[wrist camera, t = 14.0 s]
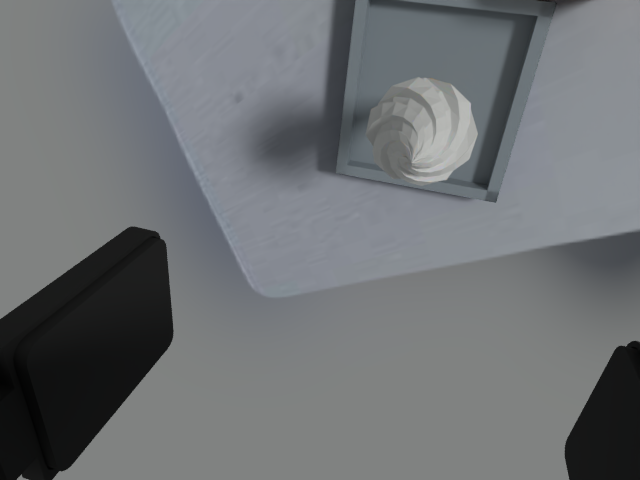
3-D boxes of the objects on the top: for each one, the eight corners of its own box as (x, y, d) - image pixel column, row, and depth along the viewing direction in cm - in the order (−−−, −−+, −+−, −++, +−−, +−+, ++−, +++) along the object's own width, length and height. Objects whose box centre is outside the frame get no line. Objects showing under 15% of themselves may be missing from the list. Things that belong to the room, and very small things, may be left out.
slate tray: (363, -19, 32) (357, -19, 30) (551, 1, 29) (556, 2, 28) (341, 164, 38) (335, 172, 36) (494, 192, 36) (495, 202, 34)
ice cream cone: (397, 138, 35) (360, 226, 22) (386, 59, 33) (336, 108, 20) (476, 126, 33) (484, 216, 20) (470, 42, 31) (475, 84, 18)
